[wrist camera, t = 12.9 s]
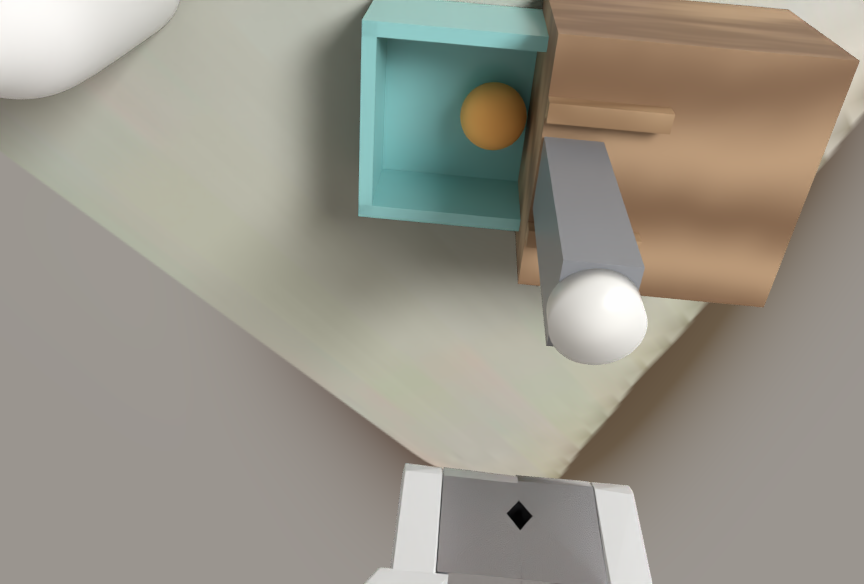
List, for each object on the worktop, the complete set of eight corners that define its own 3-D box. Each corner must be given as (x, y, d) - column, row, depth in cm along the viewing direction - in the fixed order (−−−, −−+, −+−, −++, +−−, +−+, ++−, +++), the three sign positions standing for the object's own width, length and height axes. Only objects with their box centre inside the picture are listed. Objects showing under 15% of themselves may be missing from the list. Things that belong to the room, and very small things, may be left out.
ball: (503, 100, 41) (544, 86, 44) (449, 81, 44) (491, 68, 46) (495, 166, 44) (534, 149, 46) (443, 145, 46) (484, 130, 48)
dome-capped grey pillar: (538, 135, 37) (557, 276, 26) (610, 142, 37) (659, 286, 26) (526, 207, 40) (540, 364, 29) (594, 213, 40) (634, 373, 29)
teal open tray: (376, -6, 44) (361, 19, 39) (542, 9, 44) (548, 36, 39) (371, 174, 50) (358, 216, 45) (516, 188, 50) (518, 231, 45)
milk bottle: (205, -55, 43) (25, 39, 26) (160, 58, 47) (-22, 202, 30) (76, -136, 41) (-205, -90, 25) (40, -11, 45) (-224, 101, 28)
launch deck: (545, -13, 43) (560, 39, 34) (788, 9, 43) (868, 67, 34) (513, 204, 51) (518, 293, 42) (719, 223, 51) (768, 317, 42)
